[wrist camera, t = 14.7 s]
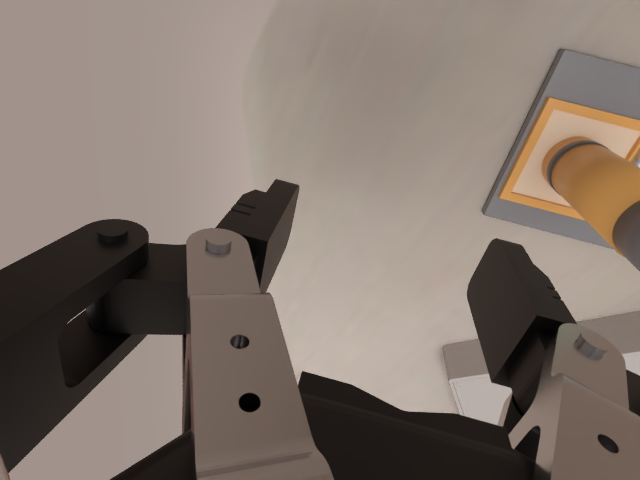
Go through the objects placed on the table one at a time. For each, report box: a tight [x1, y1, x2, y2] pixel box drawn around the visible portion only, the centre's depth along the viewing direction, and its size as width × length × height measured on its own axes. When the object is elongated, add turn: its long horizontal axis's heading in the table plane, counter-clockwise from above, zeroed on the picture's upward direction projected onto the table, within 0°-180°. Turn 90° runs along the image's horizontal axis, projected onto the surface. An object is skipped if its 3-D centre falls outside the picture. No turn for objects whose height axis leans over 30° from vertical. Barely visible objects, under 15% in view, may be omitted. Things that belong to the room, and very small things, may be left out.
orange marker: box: [542, 137, 640, 271], centre depth 22 cm, size 4×4×13 cm
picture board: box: [482, 49, 640, 249], centre depth 28 cm, size 12×15×1 cm
